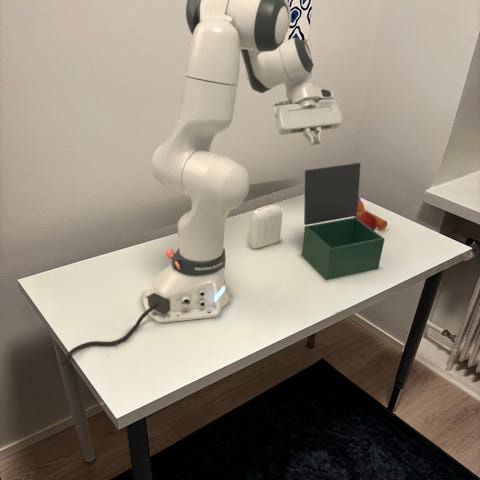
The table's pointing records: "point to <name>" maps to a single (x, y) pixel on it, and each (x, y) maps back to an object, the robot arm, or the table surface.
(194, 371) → the table surface
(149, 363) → the table surface
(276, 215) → the photo printer
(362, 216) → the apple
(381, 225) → the kendama
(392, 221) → the table surface
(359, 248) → the bin
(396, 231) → the table surface
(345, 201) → the bin lid
